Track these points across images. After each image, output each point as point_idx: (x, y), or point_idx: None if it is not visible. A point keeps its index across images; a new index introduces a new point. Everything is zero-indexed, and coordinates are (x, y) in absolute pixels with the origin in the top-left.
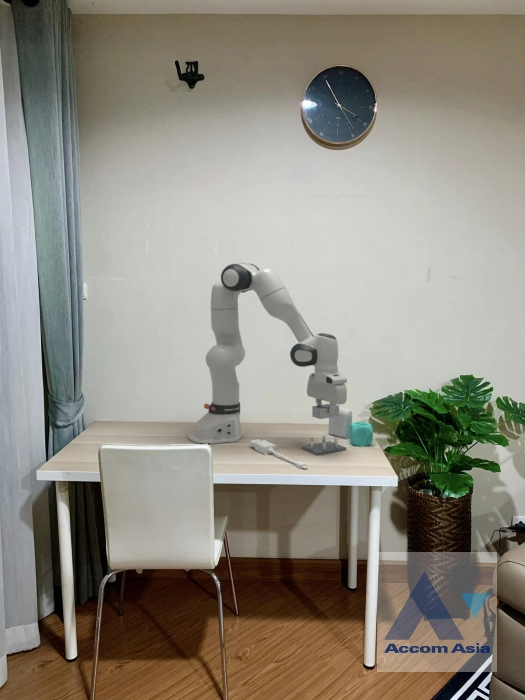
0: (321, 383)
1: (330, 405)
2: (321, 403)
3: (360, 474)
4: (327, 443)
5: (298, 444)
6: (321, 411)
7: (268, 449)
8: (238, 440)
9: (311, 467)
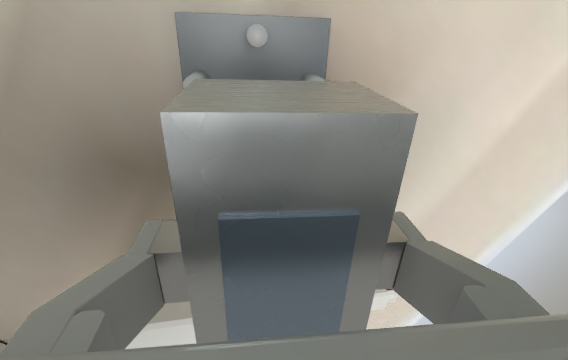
0: None
1: (314, 228)
2: (127, 276)
3: (546, 188)
4: (211, 61)
5: (127, 174)
6: None
7: None
8: (2, 344)
9: None
